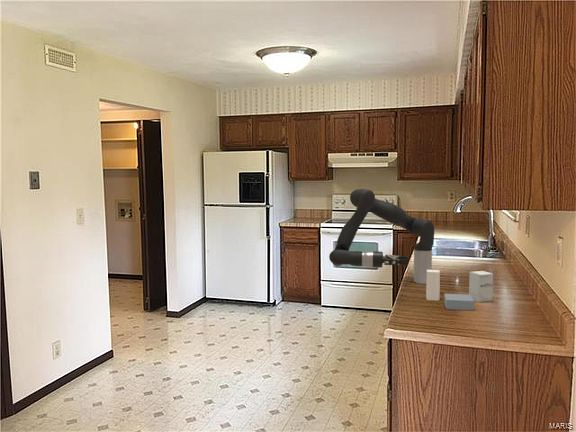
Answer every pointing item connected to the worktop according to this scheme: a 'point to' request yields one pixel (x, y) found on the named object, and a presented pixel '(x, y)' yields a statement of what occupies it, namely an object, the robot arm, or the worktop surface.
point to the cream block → (433, 285)
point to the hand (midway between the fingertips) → (407, 260)
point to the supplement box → (481, 286)
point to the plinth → (458, 302)
